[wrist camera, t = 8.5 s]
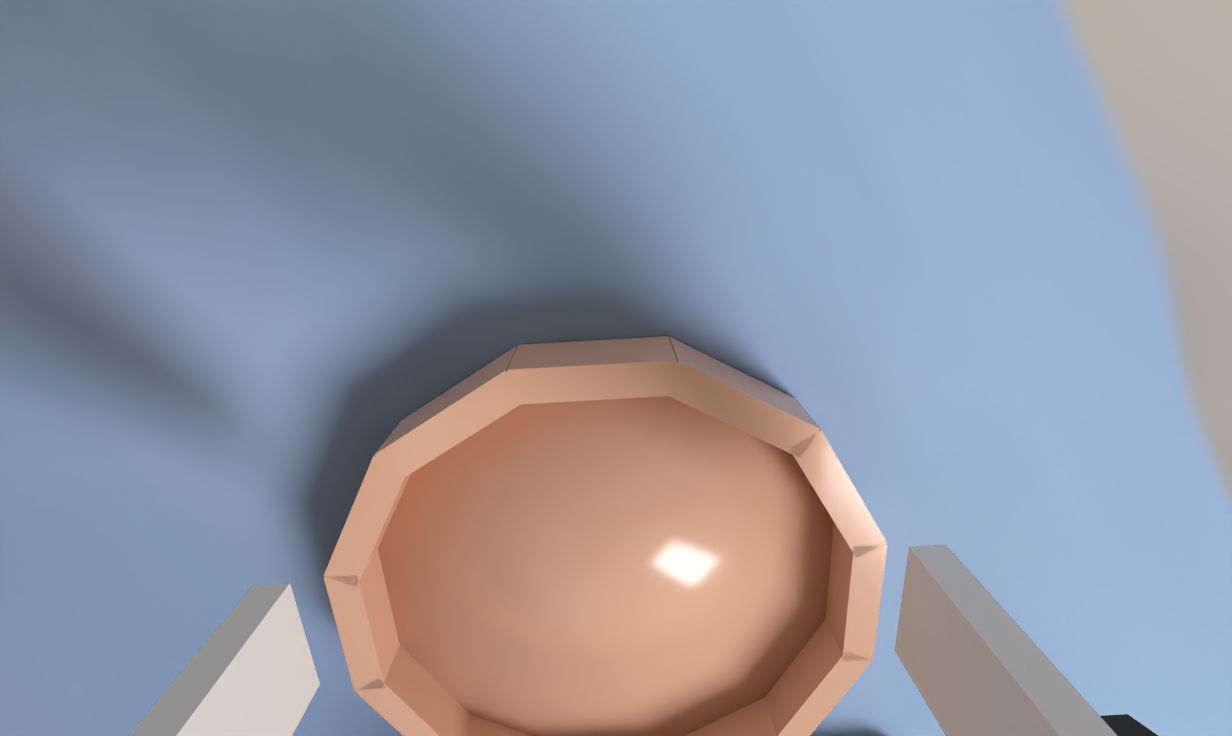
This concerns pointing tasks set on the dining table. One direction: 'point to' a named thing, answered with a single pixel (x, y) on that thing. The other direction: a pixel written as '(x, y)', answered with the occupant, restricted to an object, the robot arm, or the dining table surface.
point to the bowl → (607, 554)
